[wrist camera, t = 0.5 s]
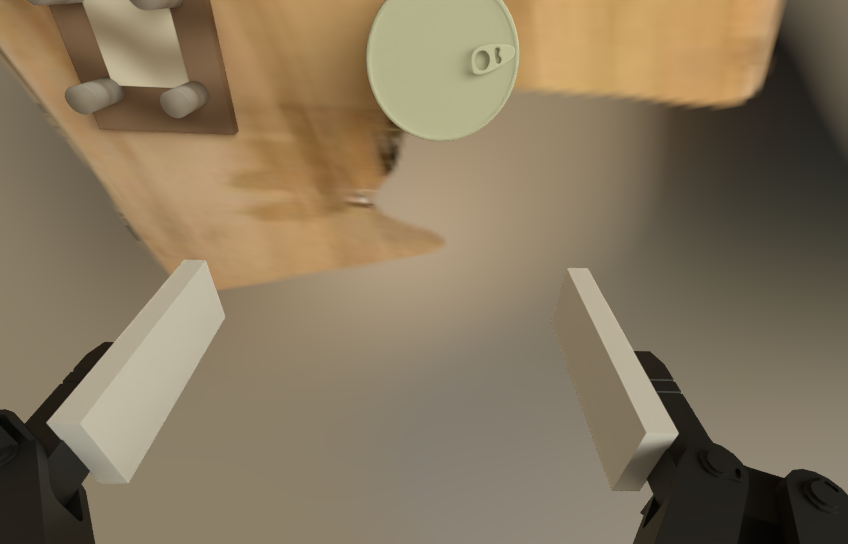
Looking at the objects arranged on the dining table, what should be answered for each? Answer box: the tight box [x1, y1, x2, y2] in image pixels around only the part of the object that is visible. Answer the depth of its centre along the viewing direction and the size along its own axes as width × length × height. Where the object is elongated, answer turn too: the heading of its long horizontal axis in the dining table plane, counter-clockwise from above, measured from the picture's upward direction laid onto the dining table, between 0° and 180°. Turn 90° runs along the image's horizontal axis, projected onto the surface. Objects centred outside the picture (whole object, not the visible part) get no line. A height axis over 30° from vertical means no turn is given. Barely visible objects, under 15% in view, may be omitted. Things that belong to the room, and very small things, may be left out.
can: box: [366, 0, 519, 141], centre depth 29 cm, size 9×9×12 cm
